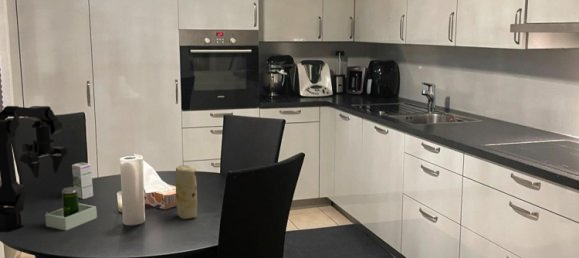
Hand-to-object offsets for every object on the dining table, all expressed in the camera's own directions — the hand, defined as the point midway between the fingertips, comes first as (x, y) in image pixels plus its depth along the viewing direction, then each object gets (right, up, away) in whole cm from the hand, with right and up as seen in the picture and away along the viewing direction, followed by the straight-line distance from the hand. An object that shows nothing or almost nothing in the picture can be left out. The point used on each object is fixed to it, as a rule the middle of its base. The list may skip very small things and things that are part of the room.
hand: (46, 175), depth 223 cm
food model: (+58, -15, -10) cm, 61 cm away
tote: (+17, -16, -16) cm, 28 cm away
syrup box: (+10, -11, +15) cm, 21 cm away
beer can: (+17, -16, -16) cm, 28 cm away
